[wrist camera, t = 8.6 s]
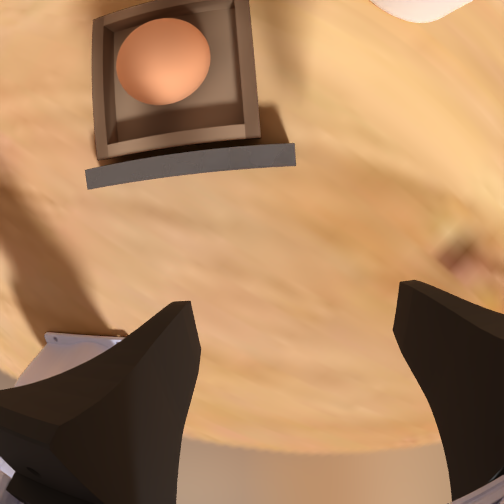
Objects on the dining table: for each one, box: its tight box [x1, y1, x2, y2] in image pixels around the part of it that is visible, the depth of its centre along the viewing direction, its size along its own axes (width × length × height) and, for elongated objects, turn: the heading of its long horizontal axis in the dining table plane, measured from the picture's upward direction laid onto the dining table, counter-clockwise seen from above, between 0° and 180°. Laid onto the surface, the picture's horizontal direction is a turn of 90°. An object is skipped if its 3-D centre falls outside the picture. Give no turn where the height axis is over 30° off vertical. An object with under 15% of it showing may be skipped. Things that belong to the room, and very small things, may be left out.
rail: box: [85, 143, 296, 190], centre depth 16 cm, size 12×1×2 cm, turn 94°
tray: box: [92, 0, 261, 160], centre depth 15 cm, size 10×10×2 cm
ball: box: [116, 18, 211, 105], centre depth 13 cm, size 5×5×5 cm
